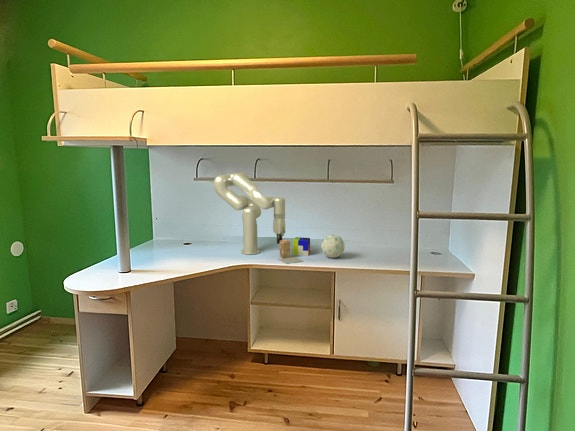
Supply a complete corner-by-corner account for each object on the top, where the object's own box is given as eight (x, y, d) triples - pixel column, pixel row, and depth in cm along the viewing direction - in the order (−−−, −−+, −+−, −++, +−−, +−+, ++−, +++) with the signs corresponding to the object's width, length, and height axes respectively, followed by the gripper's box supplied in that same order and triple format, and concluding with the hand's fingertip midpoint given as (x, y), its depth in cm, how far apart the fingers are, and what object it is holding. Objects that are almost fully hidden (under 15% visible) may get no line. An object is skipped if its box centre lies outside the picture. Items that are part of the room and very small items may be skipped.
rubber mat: (278, 259, 252) (278, 259, 252) (295, 257, 258) (295, 256, 258) (286, 263, 242) (286, 263, 242) (303, 261, 248) (303, 261, 248)
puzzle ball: (338, 253, 268) (339, 232, 265) (348, 259, 253) (348, 236, 251) (317, 255, 263) (318, 233, 261) (326, 261, 249) (326, 238, 247)
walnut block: (279, 256, 258) (279, 240, 257) (286, 256, 261) (286, 239, 259) (283, 258, 254) (283, 242, 252) (290, 257, 256) (290, 241, 255)
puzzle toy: (307, 255, 262) (307, 241, 261) (293, 254, 264) (293, 240, 262) (309, 252, 272) (310, 237, 270) (295, 251, 274) (295, 237, 272)
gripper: (269, 215, 265) (269, 241, 268) (279, 218, 252) (279, 246, 255) (279, 214, 268) (279, 240, 271) (289, 217, 255) (289, 245, 258)
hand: (279, 243), depth 263 cm, fingers closed
